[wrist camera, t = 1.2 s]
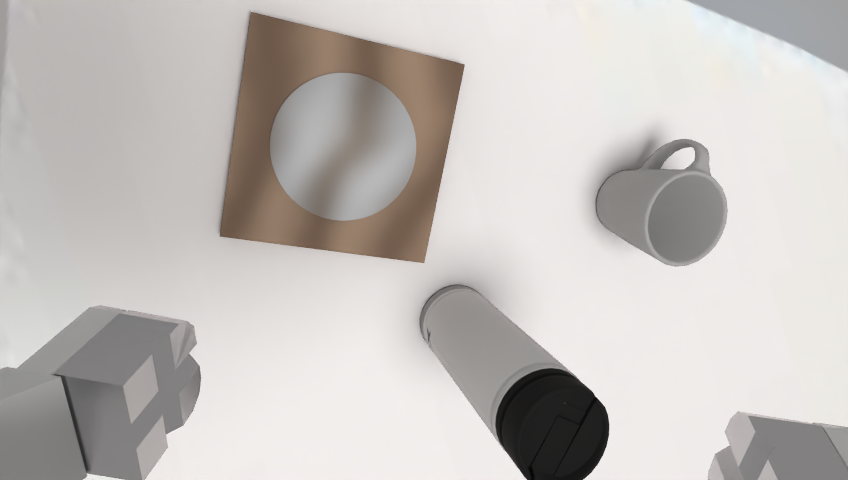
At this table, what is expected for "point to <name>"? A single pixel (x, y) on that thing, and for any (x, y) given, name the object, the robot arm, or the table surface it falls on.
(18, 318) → the table surface
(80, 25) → the table surface
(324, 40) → the board
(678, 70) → the table surface
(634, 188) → the cup
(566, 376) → the travel mug
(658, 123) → the table surface
